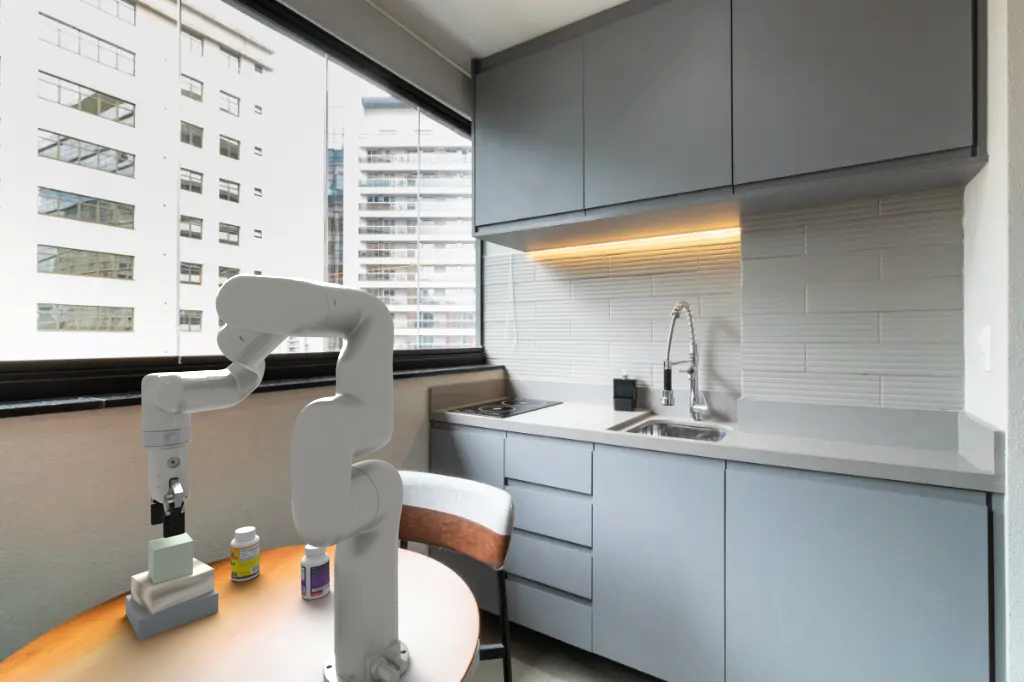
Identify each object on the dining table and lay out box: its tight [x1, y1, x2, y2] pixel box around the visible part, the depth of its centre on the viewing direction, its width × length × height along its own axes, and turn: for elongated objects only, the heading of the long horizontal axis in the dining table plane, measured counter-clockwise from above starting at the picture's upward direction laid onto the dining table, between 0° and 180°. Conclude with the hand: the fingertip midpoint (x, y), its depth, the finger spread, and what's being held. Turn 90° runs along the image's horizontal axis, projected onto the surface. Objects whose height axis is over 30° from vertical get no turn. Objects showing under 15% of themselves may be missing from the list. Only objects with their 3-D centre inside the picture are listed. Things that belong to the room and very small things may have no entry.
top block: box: [130, 557, 215, 614], centre depth 90 cm, size 10×10×4 cm
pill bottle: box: [300, 543, 331, 601], centre depth 96 cm, size 5×5×10 cm
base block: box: [125, 588, 219, 641], centre depth 90 cm, size 12×12×4 cm
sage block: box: [147, 532, 194, 584], centre depth 90 cm, size 6×6×6 cm
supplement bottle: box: [230, 525, 261, 583], centre depth 104 cm, size 6×6×10 cm
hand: (167, 529), depth 89 cm, fingers open, 9 cm apart
